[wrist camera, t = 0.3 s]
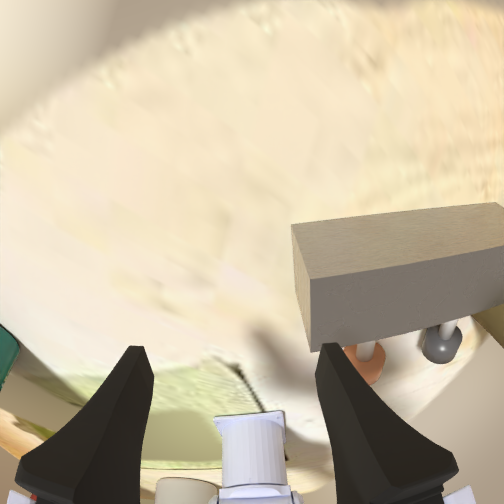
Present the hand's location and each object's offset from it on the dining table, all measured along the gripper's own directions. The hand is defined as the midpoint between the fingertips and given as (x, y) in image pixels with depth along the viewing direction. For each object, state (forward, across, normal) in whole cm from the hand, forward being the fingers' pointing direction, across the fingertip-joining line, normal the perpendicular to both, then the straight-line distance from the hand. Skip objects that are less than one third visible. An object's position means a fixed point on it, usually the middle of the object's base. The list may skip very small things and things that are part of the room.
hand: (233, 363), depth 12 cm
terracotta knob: (+9, -10, +7) cm, 15 cm away
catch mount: (+10, -13, 0) cm, 16 cm away
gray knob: (+9, -18, +6) cm, 21 cm away
